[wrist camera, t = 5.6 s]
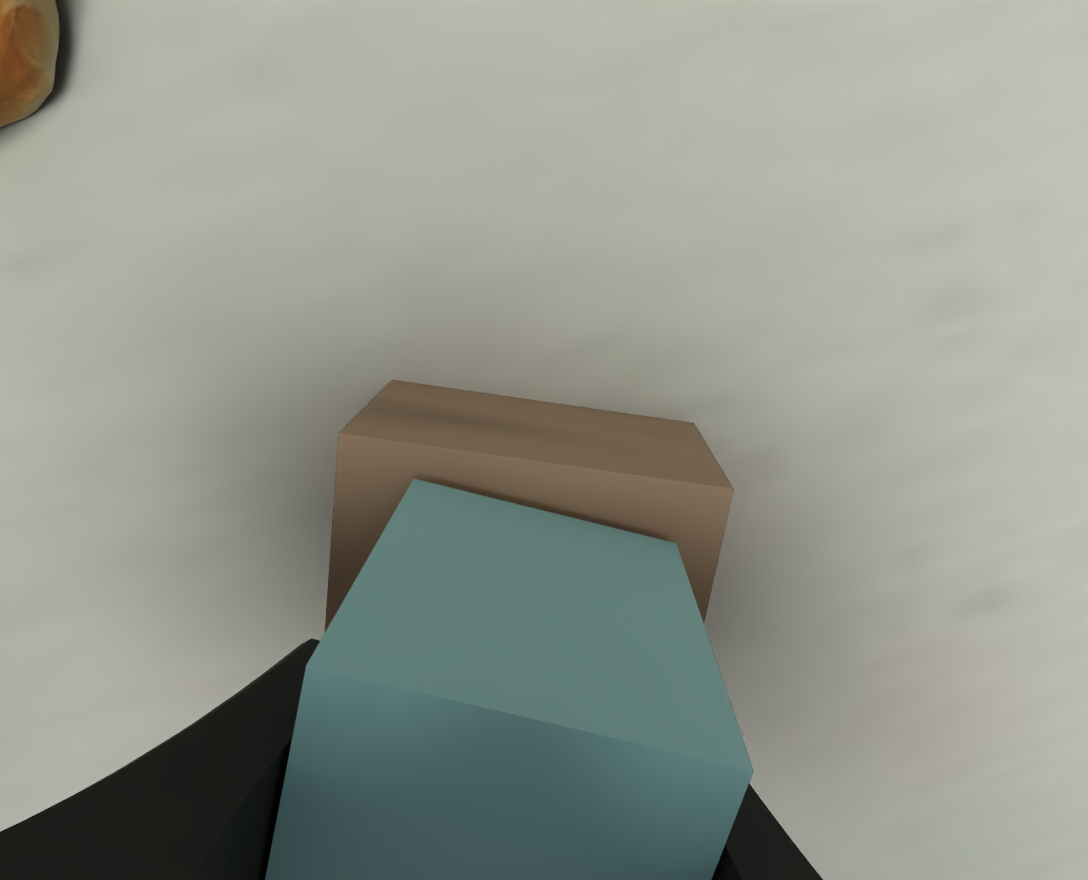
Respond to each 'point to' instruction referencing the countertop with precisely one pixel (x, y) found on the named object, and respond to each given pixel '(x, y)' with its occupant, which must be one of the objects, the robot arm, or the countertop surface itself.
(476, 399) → the walnut block
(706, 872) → the teal block
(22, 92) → the pastry
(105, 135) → the countertop surface
